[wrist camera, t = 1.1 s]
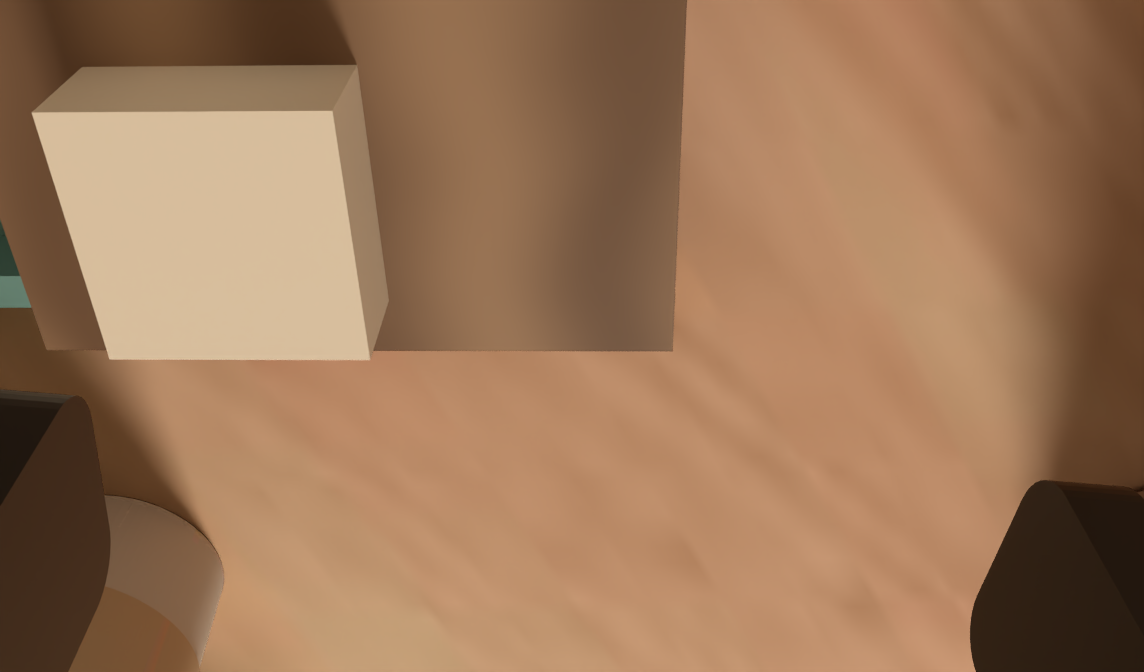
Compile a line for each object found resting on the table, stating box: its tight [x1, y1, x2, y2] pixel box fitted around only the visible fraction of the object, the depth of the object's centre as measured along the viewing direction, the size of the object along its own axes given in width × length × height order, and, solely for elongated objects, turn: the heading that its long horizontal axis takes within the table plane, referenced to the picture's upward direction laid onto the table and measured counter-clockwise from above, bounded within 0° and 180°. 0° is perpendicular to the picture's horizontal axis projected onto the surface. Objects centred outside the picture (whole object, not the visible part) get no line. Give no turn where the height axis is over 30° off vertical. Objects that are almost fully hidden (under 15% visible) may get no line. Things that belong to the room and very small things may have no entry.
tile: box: [32, 65, 389, 360], centre depth 24 cm, size 6×6×2 cm
